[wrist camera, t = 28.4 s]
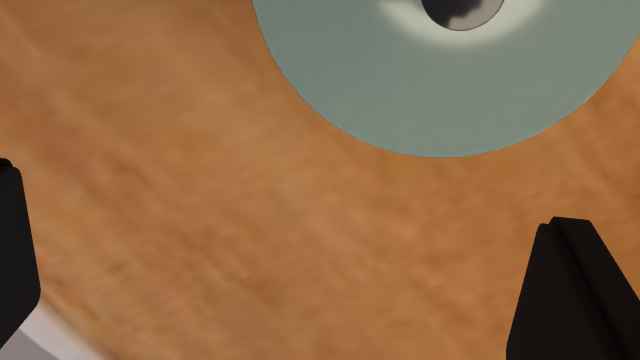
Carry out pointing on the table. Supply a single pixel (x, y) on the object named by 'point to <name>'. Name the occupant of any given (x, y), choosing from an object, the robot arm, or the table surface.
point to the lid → (447, 65)
